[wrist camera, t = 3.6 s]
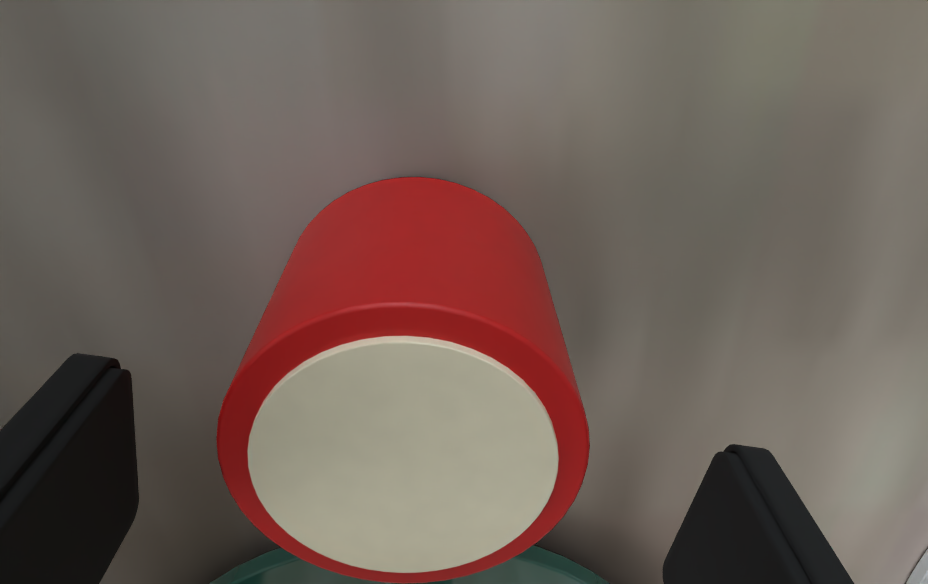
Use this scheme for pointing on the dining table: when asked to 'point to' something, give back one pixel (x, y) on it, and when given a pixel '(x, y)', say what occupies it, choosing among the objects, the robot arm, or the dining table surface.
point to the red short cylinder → (406, 391)
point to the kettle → (920, 571)
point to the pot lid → (517, 580)
